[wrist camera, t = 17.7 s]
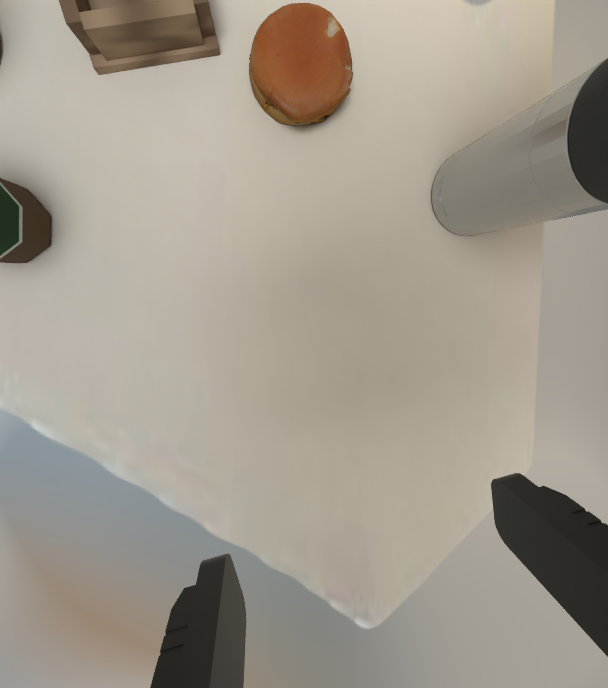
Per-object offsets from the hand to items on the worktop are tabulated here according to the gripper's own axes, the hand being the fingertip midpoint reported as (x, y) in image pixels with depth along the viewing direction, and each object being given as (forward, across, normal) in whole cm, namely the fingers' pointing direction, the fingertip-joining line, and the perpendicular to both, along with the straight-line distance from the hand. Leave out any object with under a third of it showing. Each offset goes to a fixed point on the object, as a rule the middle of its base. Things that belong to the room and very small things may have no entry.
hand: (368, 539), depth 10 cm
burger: (+30, -7, -26) cm, 41 cm away
